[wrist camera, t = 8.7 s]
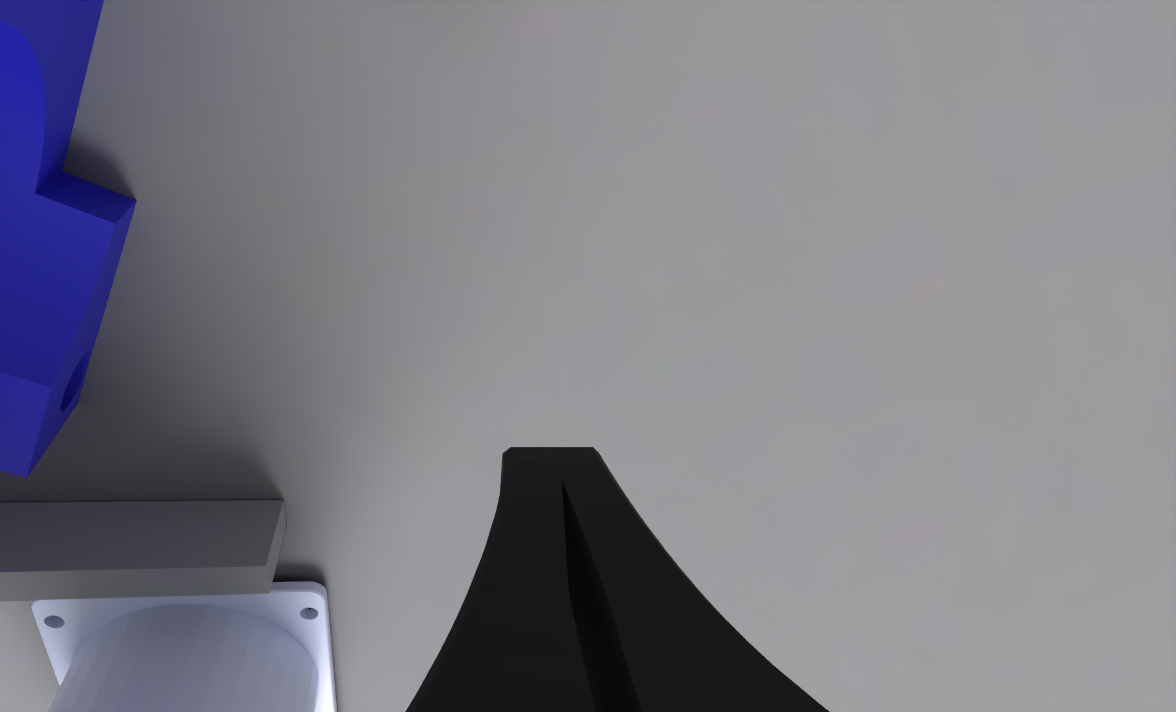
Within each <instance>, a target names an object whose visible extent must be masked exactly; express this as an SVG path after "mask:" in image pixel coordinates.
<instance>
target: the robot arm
mask: <svg viewBox="0 0 1176 712" xmlns="http://www.w3.org/2000/svg"><path fill="white" fill-rule="evenodd" d="M307 608H314V609H307ZM31 609H32V612H33V615H34V617H35V620H36V623H37V626H38V628H39V631H40V634H41V637H42V639H43V642H44V645H45V648H46V650H47V653H48V656H49V659H50V662H51V664H52V667H53V670H54V673H55V675H56V678H57V681H58V684H59V686H60V688H59V690H58V692H57V694H56V696H55V698H54V700H53V702H52V704H51V706H50V708H49V711H48V712H337V704H336V693H335V681H334V669H333V658H332V646H331V635H330V623H329V611H328V600H327V592H326V589H325V588H324V587H323V586H322V585H321V584H319V583H316V582H310V581H303V582H272V586H271V590H270V594H238V595H202V596H166V597H130V598H94V599H57V600H33V602H32V604H31ZM406 712H829V711H828V710H827V709H825V708H824V707H823V706H822V705H820V704H819V703H818V702H817V701H816V700H814V699H813V698H812V697H811V696H810V695H808V694H807V693H806V692H805V691H804V690H802V689H801V688H800V687H799V686H798V685H796V684H795V683H794V682H793V681H792V680H790V679H789V678H788V677H787V676H786V675H784V674H783V673H782V672H781V671H780V670H778V669H777V668H776V667H775V666H774V665H772V664H771V663H770V662H769V661H768V660H767V659H766V658H765V657H764V656H763V655H762V654H761V653H760V652H758V651H757V650H756V649H755V648H754V647H753V646H752V645H751V644H750V643H749V642H748V641H747V640H746V639H745V638H744V637H743V636H742V635H741V634H740V633H739V632H738V631H737V630H736V629H735V628H734V627H733V626H732V625H731V624H730V623H729V622H728V621H727V620H726V619H725V618H724V617H723V616H722V615H721V614H720V613H719V612H718V611H717V610H716V609H715V608H714V606H713V605H712V604H711V603H710V602H709V601H708V600H707V599H706V598H705V597H704V595H703V594H702V593H701V592H700V591H699V590H698V589H697V587H696V586H695V585H694V584H693V583H692V582H691V580H690V579H689V578H688V577H687V576H686V575H685V573H684V572H683V571H682V570H681V569H680V568H679V566H678V565H677V564H676V563H675V561H674V560H673V559H672V558H671V556H670V555H669V554H668V553H667V551H666V550H665V549H664V547H663V546H662V545H661V543H660V542H659V541H658V539H657V538H656V537H655V536H654V534H653V533H652V532H651V530H650V529H649V528H648V526H647V525H646V524H645V522H644V521H643V519H642V518H641V517H640V515H639V514H638V513H637V511H636V510H635V508H634V507H633V505H632V504H631V502H630V501H629V499H628V498H627V497H626V495H625V494H624V492H623V491H622V489H621V488H620V486H619V485H618V483H617V481H616V480H615V478H614V477H613V475H612V474H611V472H610V470H609V469H608V467H607V466H606V464H605V462H604V461H603V459H602V457H601V456H600V454H599V453H598V452H597V451H596V450H595V449H594V448H593V447H511V448H509V449H508V450H507V451H505V452H504V453H503V456H502V471H501V486H500V496H499V501H498V505H497V510H496V513H495V517H494V520H493V523H492V526H491V530H490V533H489V536H488V540H487V543H486V546H485V549H484V552H483V555H482V557H481V560H480V563H479V565H478V568H477V570H476V573H475V575H474V578H473V580H472V583H471V585H470V588H469V590H468V593H467V595H466V598H465V600H464V602H463V604H462V607H461V609H460V611H459V613H458V616H457V618H456V620H455V622H454V624H453V626H452V628H451V630H450V632H449V634H448V636H447V638H446V640H445V642H444V644H443V646H442V648H441V650H440V652H439V654H438V656H437V658H436V659H435V661H434V663H433V665H432V667H431V668H430V670H429V672H428V674H427V676H426V677H425V679H424V681H423V683H422V685H421V686H420V688H419V690H418V692H417V694H416V695H415V697H414V699H413V700H412V702H411V704H410V705H409V707H408V709H407V710H406Z"/></svg>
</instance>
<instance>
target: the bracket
mask: <svg viewBox="0 0 1176 712" xmlns="http://www.w3.org/2000/svg"><path fill="white" fill-rule="evenodd" d="M286 527H287V525H286V516H285V508H284V500H220V501H109V502H0V601H21V600H57V599H94V598H130V597H166V596H202V595H238V594H270V590H271V586H272V582H273V578H274V574H275V570H276V566H277V562H278V558H279V554H280V550H281V547H282V543H283V539H284V535H285V531H286Z"/></svg>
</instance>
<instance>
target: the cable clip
mask: <svg viewBox="0 0 1176 712" xmlns="http://www.w3.org/2000/svg"><path fill="white" fill-rule="evenodd" d="M103 1H104V0H0V471H3V472H7V473H11V474H15V475H18V476H22V477H26V478H27V477H28V475H29V474H30V472H31V471H32V469H33V468H34V466H35V465H36V463H37V462H38V460H39V459H40V458H41V456H42V455H43V453H44V452H45V450H46V449H47V447H48V446H49V444H50V443H51V441H52V440H53V438H54V437H55V436H56V434H57V433H58V431H59V430H60V428H61V427H62V425H63V424H64V422H65V421H66V419H67V418H68V417H69V415H70V414H71V412H72V411H73V409H74V408H75V406H76V405H77V402H78V399H79V395H80V392H81V388H82V385H83V382H84V378H85V375H86V371H87V368H88V365H89V361H90V358H91V354H92V351H93V347H94V344H95V341H96V337H97V334H98V330H99V327H100V324H101V320H102V317H103V313H104V310H105V307H106V303H107V300H108V296H109V293H110V289H111V286H112V283H113V279H114V276H115V272H116V269H117V266H118V262H119V259H120V255H121V252H122V249H123V245H124V242H125V238H126V235H127V232H128V228H129V225H130V221H131V218H132V214H133V211H134V208H135V204H136V201H137V200H134V199H132V198H129V197H126V196H124V195H121V194H119V193H116V192H114V191H111V190H109V189H106V188H103V187H101V186H98V185H96V184H93V183H91V182H88V181H86V180H83V179H80V178H78V177H75V176H73V175H70V174H68V173H65V172H63V171H62V169H63V165H64V161H65V156H66V152H67V148H68V144H69V140H70V136H71V132H72V128H73V124H74V120H75V116H76V111H77V107H78V103H79V99H80V95H81V91H82V87H83V83H84V79H85V75H86V71H87V66H88V62H89V58H90V54H91V50H92V46H93V42H94V38H95V34H96V30H97V26H98V21H99V17H100V13H101V9H102V5H103Z"/></svg>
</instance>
